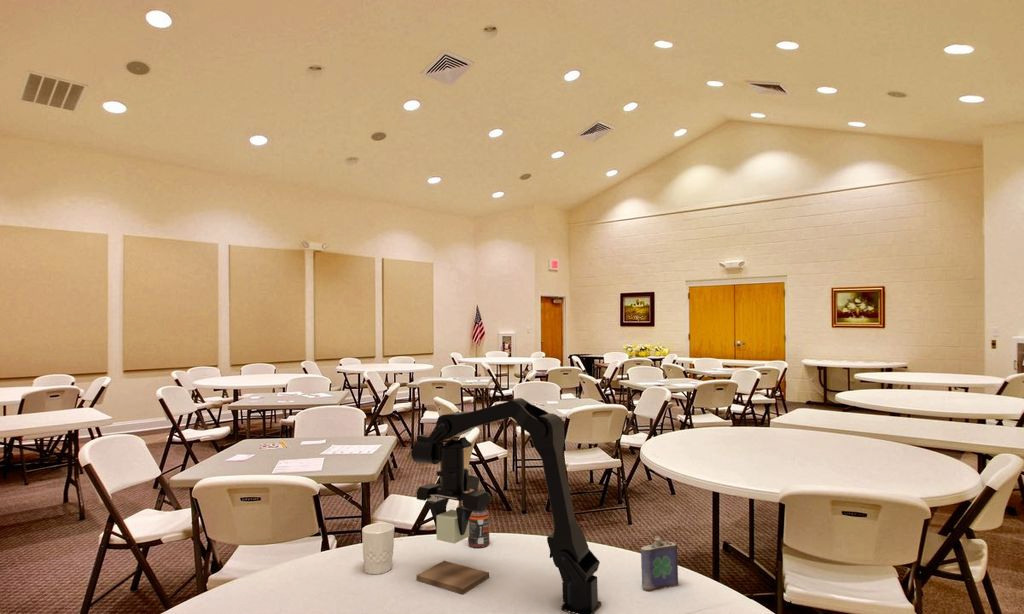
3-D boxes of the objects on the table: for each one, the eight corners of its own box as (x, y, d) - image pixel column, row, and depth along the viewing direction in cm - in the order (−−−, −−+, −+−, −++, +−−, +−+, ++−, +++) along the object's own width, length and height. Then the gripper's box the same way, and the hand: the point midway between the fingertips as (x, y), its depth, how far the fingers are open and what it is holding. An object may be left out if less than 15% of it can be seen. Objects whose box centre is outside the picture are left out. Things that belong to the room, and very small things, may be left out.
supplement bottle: (486, 549, 140) (486, 506, 141) (465, 547, 142) (465, 505, 143) (491, 541, 146) (491, 500, 147) (471, 540, 147) (471, 499, 148)
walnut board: (489, 577, 122) (489, 572, 122) (463, 594, 114) (463, 588, 114) (444, 565, 130) (444, 560, 130) (416, 580, 122) (416, 575, 122)
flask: (646, 592, 113) (644, 542, 114) (638, 586, 116) (636, 537, 117) (681, 585, 116) (679, 536, 117) (673, 580, 119) (671, 532, 120)
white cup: (359, 566, 131) (359, 525, 131) (390, 560, 134) (390, 520, 135) (364, 578, 123) (364, 535, 124) (397, 571, 127) (397, 529, 128)
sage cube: (469, 536, 124) (468, 512, 124) (454, 543, 119) (454, 519, 120) (451, 532, 127) (451, 509, 127) (436, 539, 122) (436, 515, 123)
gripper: (502, 463, 126) (504, 529, 125) (444, 456, 136) (445, 517, 135) (475, 472, 117) (476, 543, 115) (414, 464, 127) (415, 530, 125)
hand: (452, 532), depth 123 cm, fingers closed on sage cube, 5 cm apart
